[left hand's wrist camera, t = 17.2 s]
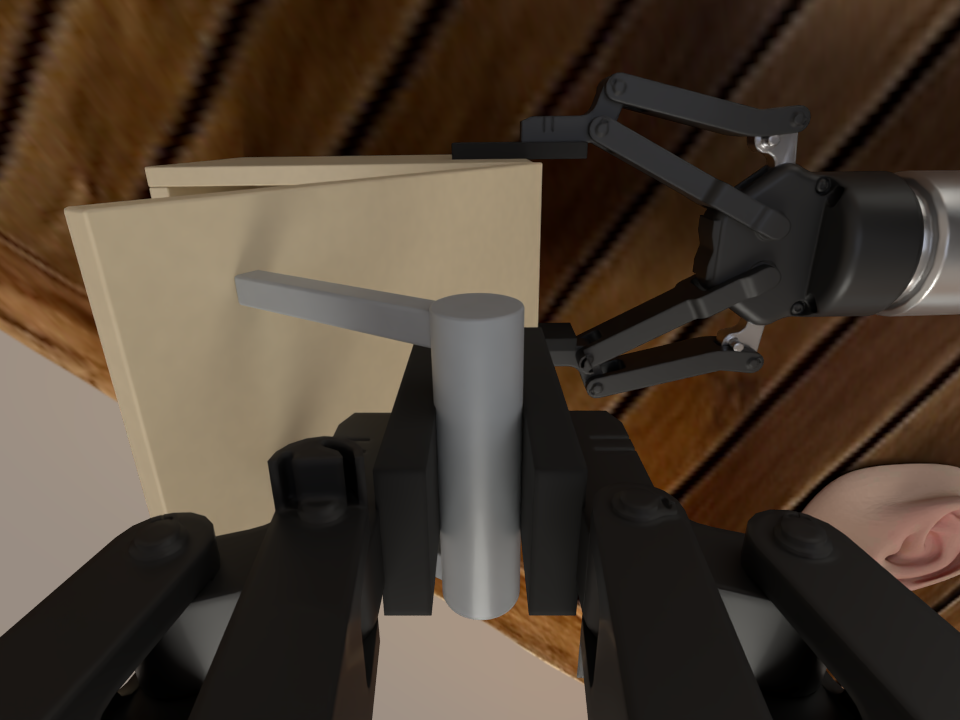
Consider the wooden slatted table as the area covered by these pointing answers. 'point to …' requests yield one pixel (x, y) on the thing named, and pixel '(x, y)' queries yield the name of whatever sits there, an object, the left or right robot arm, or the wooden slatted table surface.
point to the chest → (293, 171)
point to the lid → (325, 340)
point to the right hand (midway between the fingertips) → (456, 250)
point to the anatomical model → (899, 518)
